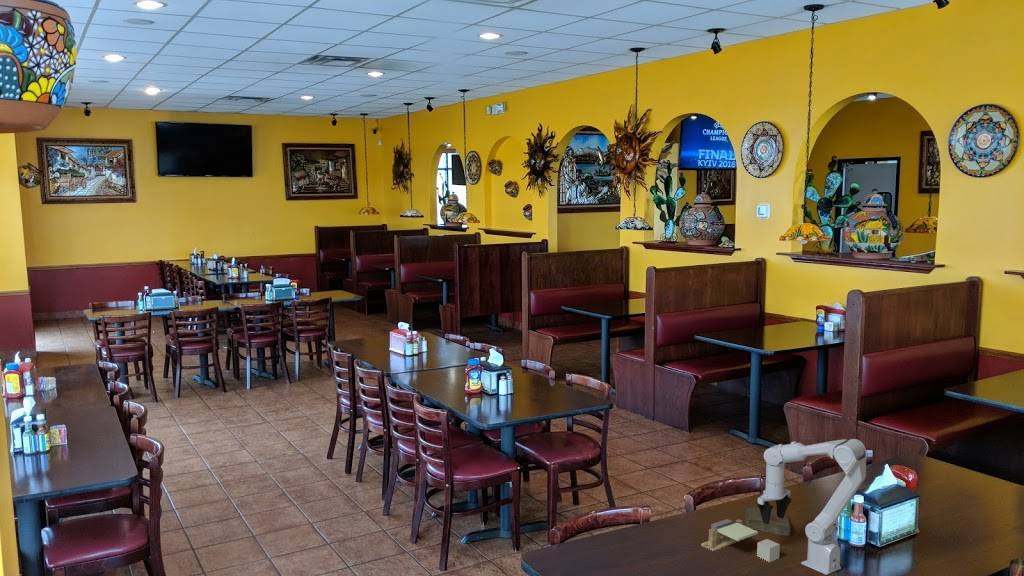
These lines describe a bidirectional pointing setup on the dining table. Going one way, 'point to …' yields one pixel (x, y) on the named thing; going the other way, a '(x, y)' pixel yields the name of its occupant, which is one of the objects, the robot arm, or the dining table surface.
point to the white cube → (768, 550)
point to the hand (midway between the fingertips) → (773, 520)
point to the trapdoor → (734, 530)
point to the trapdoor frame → (719, 538)
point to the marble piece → (774, 525)
